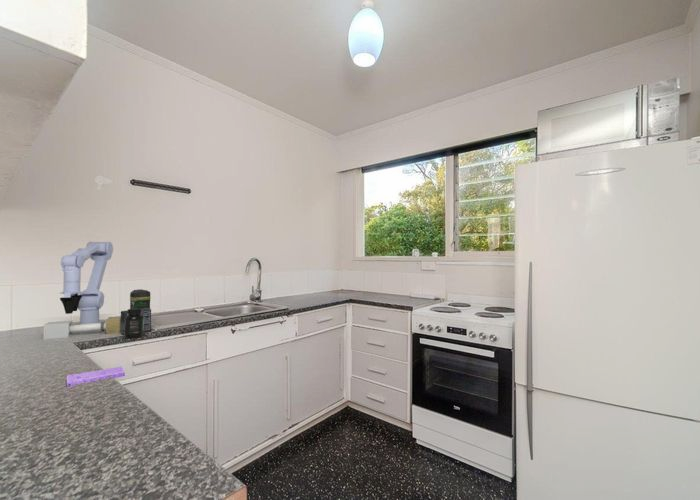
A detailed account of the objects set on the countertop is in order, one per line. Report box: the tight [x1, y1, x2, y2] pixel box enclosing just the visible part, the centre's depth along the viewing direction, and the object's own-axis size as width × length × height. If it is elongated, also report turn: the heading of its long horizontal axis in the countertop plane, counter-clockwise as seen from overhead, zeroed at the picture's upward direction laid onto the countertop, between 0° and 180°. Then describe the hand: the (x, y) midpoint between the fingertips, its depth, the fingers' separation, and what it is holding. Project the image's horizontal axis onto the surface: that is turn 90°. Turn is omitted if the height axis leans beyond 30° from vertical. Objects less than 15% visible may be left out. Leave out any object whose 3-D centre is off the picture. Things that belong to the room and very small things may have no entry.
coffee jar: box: [129, 289, 151, 309], centre depth 159 cm, size 10×8×19 cm
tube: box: [69, 321, 106, 334], centre depth 143 cm, size 18×4×4 cm, turn 119°
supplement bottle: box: [123, 308, 145, 339], centre depth 138 cm, size 7×7×12 cm
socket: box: [105, 315, 121, 335], centre depth 148 cm, size 5×7×6 cm
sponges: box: [66, 366, 126, 387], centre depth 90 cm, size 7×13×2 cm, turn 131°
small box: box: [120, 308, 152, 336], centre depth 146 cm, size 11×6×10 cm, turn 144°
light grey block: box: [42, 320, 74, 341], centre depth 138 cm, size 8×6×6 cm
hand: (71, 312), depth 143 cm, fingers open, 7 cm apart
